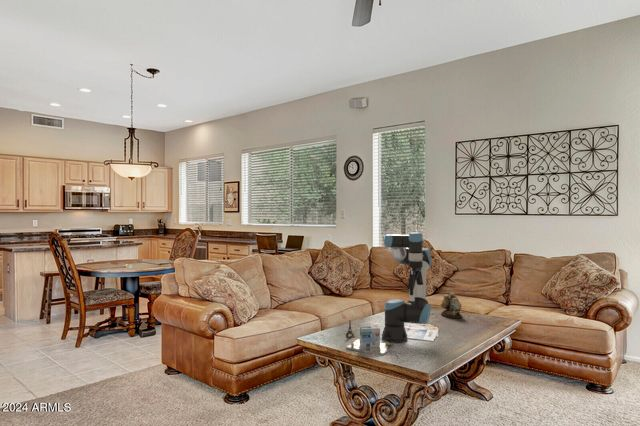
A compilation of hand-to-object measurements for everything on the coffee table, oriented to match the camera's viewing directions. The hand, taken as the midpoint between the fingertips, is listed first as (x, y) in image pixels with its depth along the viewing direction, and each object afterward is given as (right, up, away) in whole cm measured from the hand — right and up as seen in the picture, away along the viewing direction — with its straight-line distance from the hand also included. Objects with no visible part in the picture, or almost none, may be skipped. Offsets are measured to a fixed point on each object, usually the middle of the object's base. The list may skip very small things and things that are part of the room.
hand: (415, 298), depth 242 cm
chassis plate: (-25, -29, +4) cm, 38 cm away
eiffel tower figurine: (-34, -29, +26) cm, 52 cm away
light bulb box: (-25, -28, +4) cm, 38 cm away
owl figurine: (+42, -27, +73) cm, 89 cm away
